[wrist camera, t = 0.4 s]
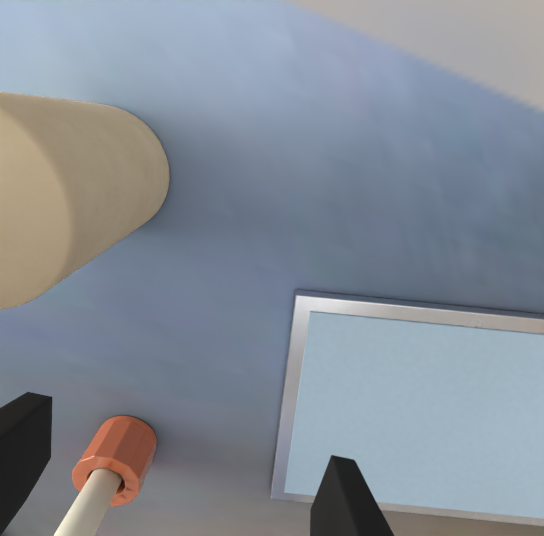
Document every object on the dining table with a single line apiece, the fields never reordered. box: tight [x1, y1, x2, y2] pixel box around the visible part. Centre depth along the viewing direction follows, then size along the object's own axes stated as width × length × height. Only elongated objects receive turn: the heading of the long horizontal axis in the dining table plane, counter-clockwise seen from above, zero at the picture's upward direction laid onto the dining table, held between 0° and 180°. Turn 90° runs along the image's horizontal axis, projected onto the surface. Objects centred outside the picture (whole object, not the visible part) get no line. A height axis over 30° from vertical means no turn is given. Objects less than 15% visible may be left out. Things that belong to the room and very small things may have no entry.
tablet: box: [270, 290, 544, 526], centre depth 21 cm, size 14×22×1 cm, turn 85°
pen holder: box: [72, 416, 157, 507], centre depth 21 cm, size 4×4×3 cm
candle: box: [0, 92, 170, 309], centre depth 12 cm, size 6×6×10 cm
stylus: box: [54, 468, 123, 536], centre depth 17 cm, size 2×2×11 cm
